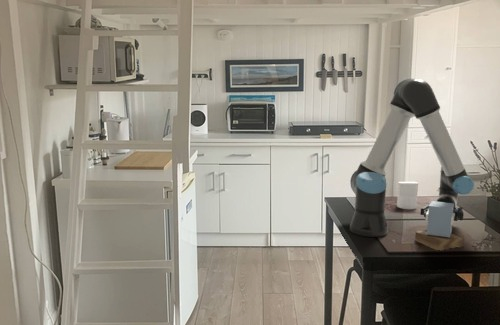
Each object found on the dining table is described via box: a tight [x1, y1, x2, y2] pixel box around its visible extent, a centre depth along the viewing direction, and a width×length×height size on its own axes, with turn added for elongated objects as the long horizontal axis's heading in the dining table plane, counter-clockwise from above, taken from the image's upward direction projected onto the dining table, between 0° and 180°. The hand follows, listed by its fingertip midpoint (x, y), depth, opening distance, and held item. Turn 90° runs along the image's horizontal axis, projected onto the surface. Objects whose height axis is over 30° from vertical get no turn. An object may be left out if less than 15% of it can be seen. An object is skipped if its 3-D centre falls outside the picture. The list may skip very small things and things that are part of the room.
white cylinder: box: [396, 181, 419, 210], centre depth 236 cm, size 9×9×12 cm
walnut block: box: [414, 229, 464, 251], centre depth 186 cm, size 12×12×4 cm
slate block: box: [426, 200, 454, 238], centre depth 184 cm, size 8×8×11 cm
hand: (439, 219), depth 180 cm, fingers closed on slate block, 8 cm apart
